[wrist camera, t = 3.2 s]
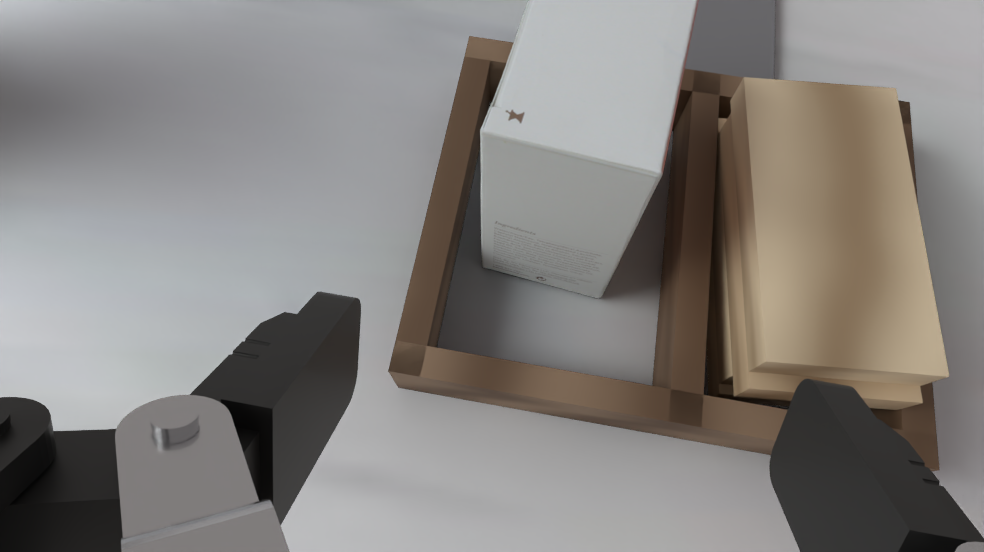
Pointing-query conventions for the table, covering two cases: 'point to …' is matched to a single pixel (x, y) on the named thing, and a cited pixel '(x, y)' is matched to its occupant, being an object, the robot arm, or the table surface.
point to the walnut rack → (682, 303)
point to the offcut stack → (818, 249)
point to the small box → (579, 136)
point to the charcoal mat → (734, 38)
